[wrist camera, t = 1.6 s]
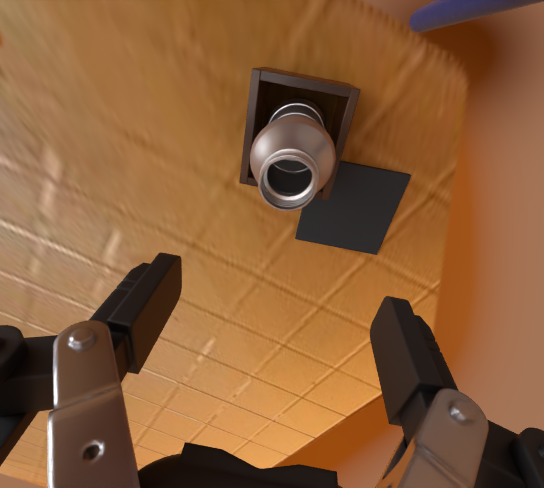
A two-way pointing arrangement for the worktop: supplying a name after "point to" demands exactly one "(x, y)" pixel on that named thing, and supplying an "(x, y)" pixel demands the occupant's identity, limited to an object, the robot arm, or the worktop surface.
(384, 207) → the mat
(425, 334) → the robot arm
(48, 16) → the worktop surface
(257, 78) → the holder
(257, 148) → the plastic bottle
